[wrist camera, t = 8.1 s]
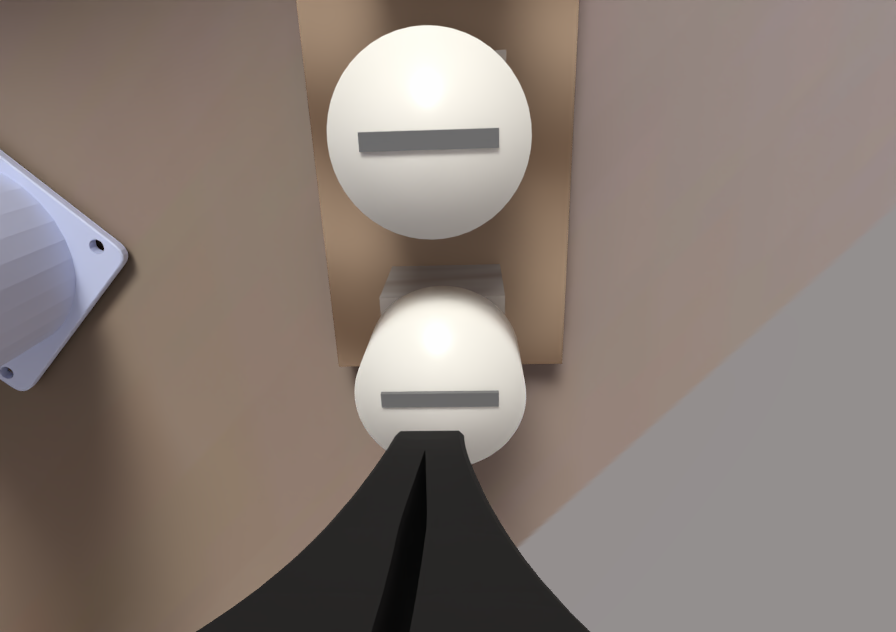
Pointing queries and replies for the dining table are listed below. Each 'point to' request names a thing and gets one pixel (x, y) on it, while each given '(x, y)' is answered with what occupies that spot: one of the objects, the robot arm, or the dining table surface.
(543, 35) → the knob panel
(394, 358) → the knob outer
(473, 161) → the knob middle
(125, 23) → the dining table surface
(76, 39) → the dining table surface
